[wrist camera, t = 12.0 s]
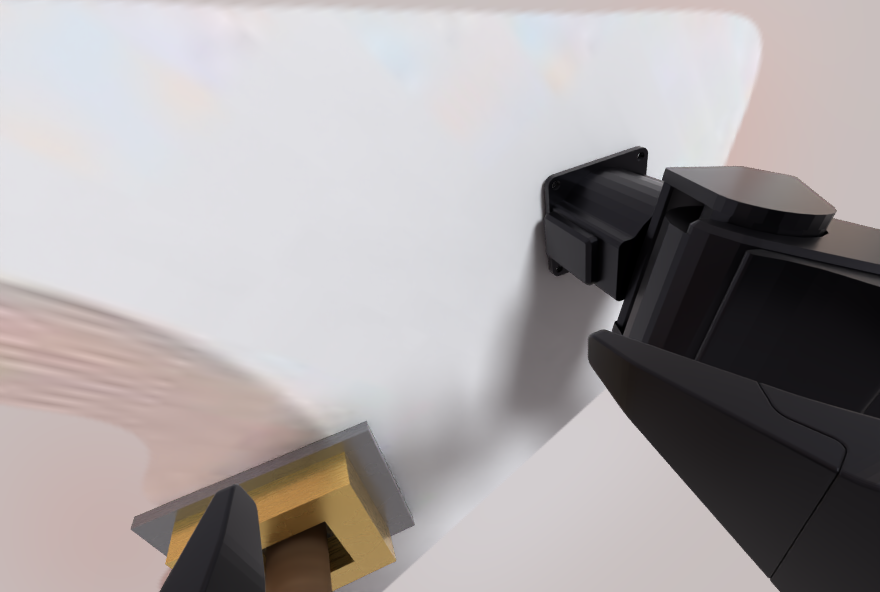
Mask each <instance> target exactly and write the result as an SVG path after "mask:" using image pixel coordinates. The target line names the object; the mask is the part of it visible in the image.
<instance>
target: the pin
mask: <svg viewBox="0 0 880 592" xmlns="http://www.w3.org/2000/svg"><path fill="white" fill-rule="evenodd" d="M265 592H332V583H331V572H330V561H329V551H328V540H327V529H326V522H325V521H324V522H322V523H320V524H318V525H315V526H313V527H311V528H309V529H306V530H304V531H302V532H300V533H297V534H295V535H293V536H291V537H288V538H286V539H284V540H282V541H279V542H277V543H275V544H273V545H270V546H268V547H266V571H265Z"/></svg>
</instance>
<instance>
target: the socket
mask: <svg viewBox="0 0 880 592" xmlns="http://www.w3.org/2000/svg"><path fill="white" fill-rule="evenodd" d="M235 483H236V484H239V485H240V486H241V487H242V488H243V489H244V490H245V491H246V492H247V494H248V495H249V496H250V497H251V498H252V499H253V500H254V502H255V504H256V506H257V510H258V519H259V527H260V536H261V545H262V554H263V563H264V572H265V571H266V547H268V546H270V545H273V544H275V543H277V542H279V541H282V540H284V539H286V538H288V537H291V536H293V535H295V534H297V533H300V532H302V531H304V530H306V529H309V528H311V527H313V526H315V525H318V524H320V523H322V522H324V521H325V522H326V529H327V540H328V551H329V561H330V572H331V583H332V591H334V590H336V589H338V588H340V587H342V586H344V585H347V584H349V583H351V582H353V581H355V580H357V579H359V578H361V577H363V576H365V575H368V574H370V573H372V572H374V571H376V570H378V569H380V568H382V567H384V566H386V565H389V564H391V563H393V562H395V561H396V558H395V553H394V549H393V545H392V540H391V536H392V535H394V534H397V533H399V532H401V531H403V530H405V529H407V528H409V527H412V526H414V525H415V524H414V521H413V517H412V515H411V513H410V511H409V508H408V506H407V504H406V502H405V500H404V498H403V496H402V494H401V492H400V490H399V488H398V486H397V484H396V482H395V479H394V477H393V475H392V473H391V471H390V469H389V467H388V465H387V463H386V461H385V459H384V457H383V455H382V453H381V450H380V448H379V446H378V444H377V442H376V440H375V438H374V436H373V434H372V432H371V430H370V428H369V426H368V424H367V422H364V423H361V424H359V425H356V426H354V427H351V428H349V429H347V430H344V431H342V432H339V433H337V434H334V435H332V436H330V437H327V438H325V439H322V440H320V441H317V442H315V443H313V444H310V445H308V446H305V447H303V448H300V449H298V450H296V451H293V452H291V453H288V454H286V455H284V456H281V457H279V458H276V459H274V460H271V461H269V462H267V463H264V464H262V465H259V466H257V467H254V468H252V469H250V470H247V471H245V472H242V473H240V474H237V475H235V476H233V477H230V478H228V479H225V480H223V481H220V482H218V483H216V484H213V485H211V486H208V487H206V488H203V489H201V490H199V491H196V492H194V493H191V494H189V495H186V496H184V497H182V498H179V499H177V500H174V501H172V502H169V503H167V504H165V505H162V506H160V507H157V508H155V509H152V510H150V511H148V512H145V513H143V514H140V515H138V516H135V517H134V520H133V524H132V526H131V530H132V531H134V532H135V533H136V534H138V535H139V536H140V537H142V538H143V539H144V540H146V541H147V542H148V543H150V544H151V545H152V546H153V547H155V548H156V549H158V550H159V551H160V552H161V553H163V554H164V555H166V556H167V559H166V563H165V564H166V565H167V566H169V567H170V568H171V569H173V567H174V565H175V563H176V562H177V560H178V558H179V556H180V555H181V553H182V551H183V549H184V548H185V546H186V544H187V542H188V541H189V539H190V537H191V535H192V534H193V532H194V530H195V528H196V527H197V525H198V523H199V521H200V519H201V518H202V516H203V514H204V512H205V511H206V509H207V507H208V505H209V504H210V502H211V500H212V498H213V497H214V495H215V494H216V492H217V491H218V490H220V489H222V488H225V487H227V486H229V485H232V484H235Z"/></svg>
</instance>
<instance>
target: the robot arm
mask: <svg viewBox="0 0 880 592" xmlns="http://www.w3.org/2000/svg"><path fill="white" fill-rule="evenodd" d="M638 154H639V157H638V158H637V155H638ZM647 159H648V151H647V149H646V148H644V147H640V146H637V147H633V148H630V149H627V150H624V151H621V152H618V153H616V154H613V155H610V156H607V157H604V158H601V159H598V160H595V161H592V162H589V163H586V164H583V165H580V166H577V167H574V168H571V169H568V170H565V171H562V172H559V173H556V174H553V175H551V176H549V177H548V178H547V179H546V181H545V186H544V187H545V205H546V216H545V218H544V223H545V240H546V254H547V255H548V258H549V270H550V272H551V273H552V274H554V275H555V276H560V275H563V274H565V273H568V272H570V273H572V274H573V275H574V276H576V277H577V278H578V279H580V280H581V281H582V282H584V283H585V284H587V285H592V284H595V285H596V286H598V287H599V288H600V289H602V290H603V291H604V292H606V293H607V294H608V295H610V296H611V297H613V298H614V299H615V300H617V301H622V300H624V302H623V305H622V308H621V311H620V314H619V317H618V320H617V321H615V323H614V326H613V329H612V332H611V331H608V330H600V331H597V332H595V333H592V334H590V335H589V337H588V360H589V363H590V365H591V366H592V368H593V369H594V371H595V372H596V374H597V375H598V377H599V378H600V379H601V381H602V382H603V384H604V385H605V386H606V388H607V389H608V391H609V392H610V393H611V395H612V396H613V398H614V399H615V401H616V402H617V404H618V405H619V406H620V408H621V409H622V410H623V412H624V413H625V414H626V415H627V417H628V418H629V419H630V420H631V421H632V423H633V424H634V425H635V426H636V427H637V428H638V429H639V431H640V432H641V433H642V434H643V435H644V436H645V437H646V438H647V440H648V441H649V442H650V443H651V444H652V446H653V447H654V448H655V449H656V450H657V451H658V452H659V454H660V455H661V456H662V457H663V458H664V459H665V460H666V462H667V463H668V464H669V465H670V466H671V467H672V468H673V470H674V471H675V472H676V473H677V474H678V475H679V476H680V478H681V479H682V480H683V481H684V482H685V483H686V484H687V486H688V487H689V488H690V489H691V490H692V491H693V492H694V493H695V495H696V496H697V497H698V498H699V499H700V500H701V502H702V503H703V504H704V505H705V506H706V507H707V508H708V509H709V511H710V512H711V513H712V514H713V515H714V516H715V517H716V519H717V520H718V521H719V522H720V523H721V524H722V526H723V527H724V528H725V529H726V530H727V531H728V532H729V534H730V535H731V536H732V537H733V538H734V539H735V540H736V542H737V543H738V544H739V545H740V546H741V547H742V548H743V550H744V551H745V552H746V553H747V554H748V555H749V556H750V558H751V559H752V560H753V561H754V562H755V563H756V565H757V566H758V567H759V568H760V569H761V570H762V571H763V572H764V574H765V575H766V576H767V577H768V578H770V581H771V582H772V583H773V584H774V585H775V587H776V588H777V589H778V590H779V591H780V592H880V229H875V228H871V227H867V226H863V225H859V224H855V223H851V222H847V221H842V220H838V219H834V218H833V216H834V215H835V213H836V211H837V210H836V209H835V207H833V206H832V205H831V204H830V203H828V202H827V201H826V200H825V199H823V198H822V197H821V196H819V195H818V194H817V193H816V192H814V191H813V190H812V189H811V188H809V187H808V186H807V185H806V184H804V183H803V182H802V181H801V180H799V179H798V178H797V177H794V176H790V175H785V174H780V173H775V172H770V171H764V170H759V169H754V168H748V167H743V166H719V167H667V168H666V169H665V172H664V175H663V178H662V180H659V179H656V178H653V177H650V176H647V175H646V170H647ZM555 181H556V185H555V187H553V188H552V185H553V183H554V182H555ZM559 265H560V266H559ZM558 266H559V268H558V269H556V268H557V267H558ZM160 592H265V572H264V563H263V554H262V545H261V536H260V527H259V519H258V510H257V506H256V504H255V502H254V500H253V499H252V498H251V497H250V496H249V495H248V494H247V492H246V491H245V490H244V489H243V488H242V487H241V486H240V485H239V484H236V483H235V484H232V485H229V486H227V487H225V488H222V489H220V490H218V491H217V492H216V494H215V495H214V497H213V498H212V500H211V502H210V504H209V505H208V507H207V509H206V511H205V512H204V514H203V516H202V518H201V519H200V521H199V523H198V525H197V527H196V528H195V530H194V532H193V534H192V535H191V537H190V539H189V541H188V542H187V544H186V546H185V548H184V549H183V551H182V553H181V555H180V556H179V558H178V560H177V562H176V563H175V565H174V567H173V569H172V570H171V572H170V574H169V576H168V577H167V579H166V581H165V583H164V585H163V586H162V588H161V590H160Z"/></svg>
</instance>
